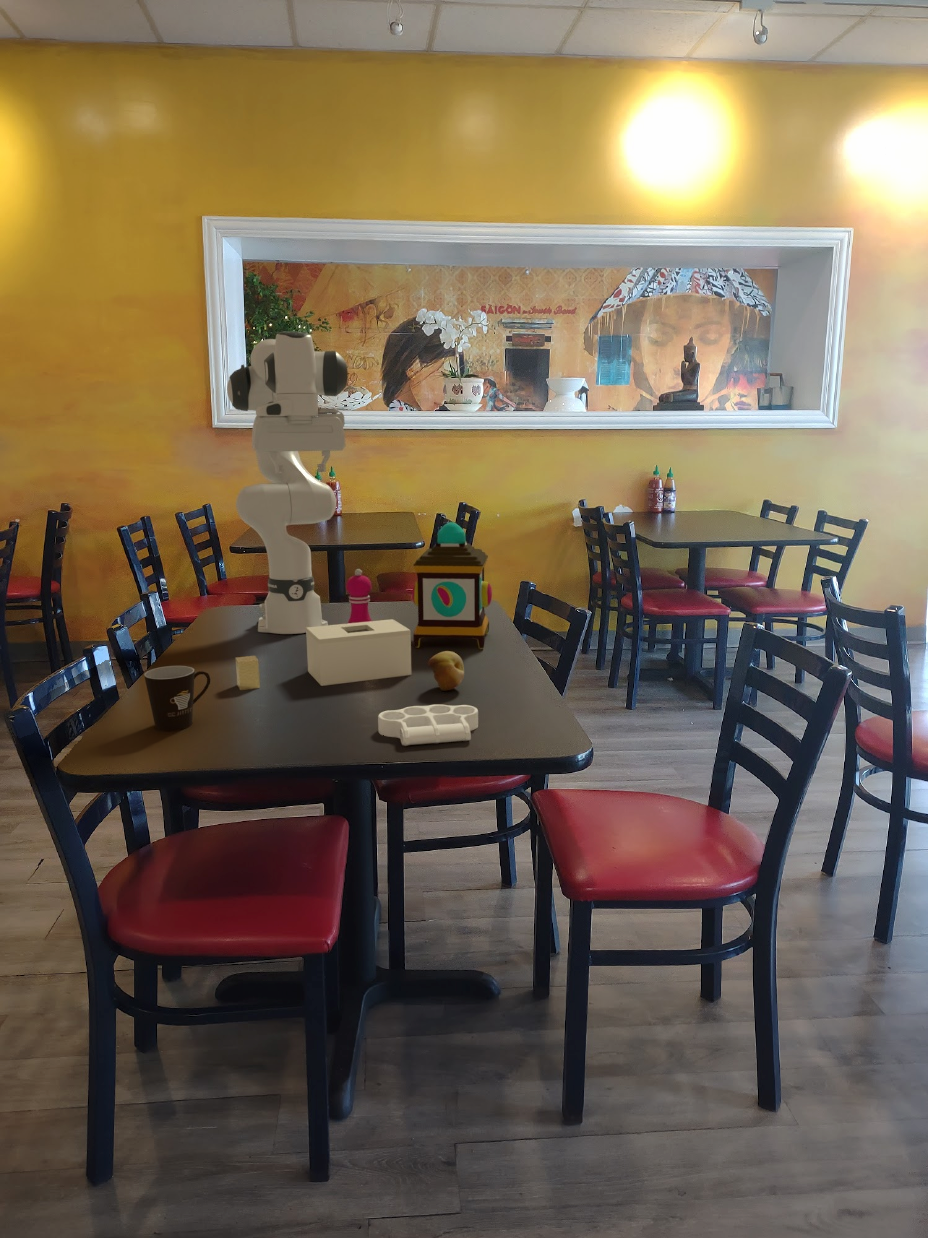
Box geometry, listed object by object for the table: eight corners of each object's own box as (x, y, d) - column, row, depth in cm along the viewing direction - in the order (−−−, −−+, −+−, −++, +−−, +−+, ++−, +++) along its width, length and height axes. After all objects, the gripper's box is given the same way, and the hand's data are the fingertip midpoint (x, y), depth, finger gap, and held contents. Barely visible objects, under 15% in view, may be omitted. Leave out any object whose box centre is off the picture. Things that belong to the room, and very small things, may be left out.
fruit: (440, 697, 171) (440, 658, 170) (420, 687, 178) (419, 650, 176) (472, 691, 175) (472, 653, 173) (451, 681, 182) (451, 645, 180)
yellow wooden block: (237, 685, 181) (235, 657, 179) (256, 682, 182) (254, 655, 181) (240, 690, 177) (238, 662, 176) (259, 688, 179) (258, 660, 177)
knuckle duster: (384, 752, 144) (375, 723, 158) (489, 743, 147) (470, 716, 161) (384, 733, 143) (374, 706, 157) (489, 724, 146) (470, 699, 160)
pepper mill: (370, 654, 204) (368, 571, 200) (341, 653, 205) (338, 571, 201) (379, 647, 211) (377, 566, 207) (351, 646, 212) (348, 566, 208)
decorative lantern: (494, 632, 226) (494, 518, 219) (489, 651, 207) (489, 526, 200) (419, 631, 228) (417, 517, 221) (407, 649, 209) (404, 526, 202)
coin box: (308, 671, 190) (306, 627, 188) (393, 661, 198) (392, 619, 196) (321, 685, 180) (319, 639, 177) (411, 674, 187) (410, 630, 185)
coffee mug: (150, 736, 151) (145, 681, 148) (147, 721, 158) (142, 669, 156) (218, 726, 155) (214, 673, 153) (212, 712, 163) (208, 661, 161)
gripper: (340, 408, 194) (342, 470, 197) (248, 408, 186) (252, 473, 189) (347, 407, 188) (350, 471, 191) (253, 407, 180) (257, 474, 183)
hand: (300, 472), depth 190 cm, fingers open, 8 cm apart
